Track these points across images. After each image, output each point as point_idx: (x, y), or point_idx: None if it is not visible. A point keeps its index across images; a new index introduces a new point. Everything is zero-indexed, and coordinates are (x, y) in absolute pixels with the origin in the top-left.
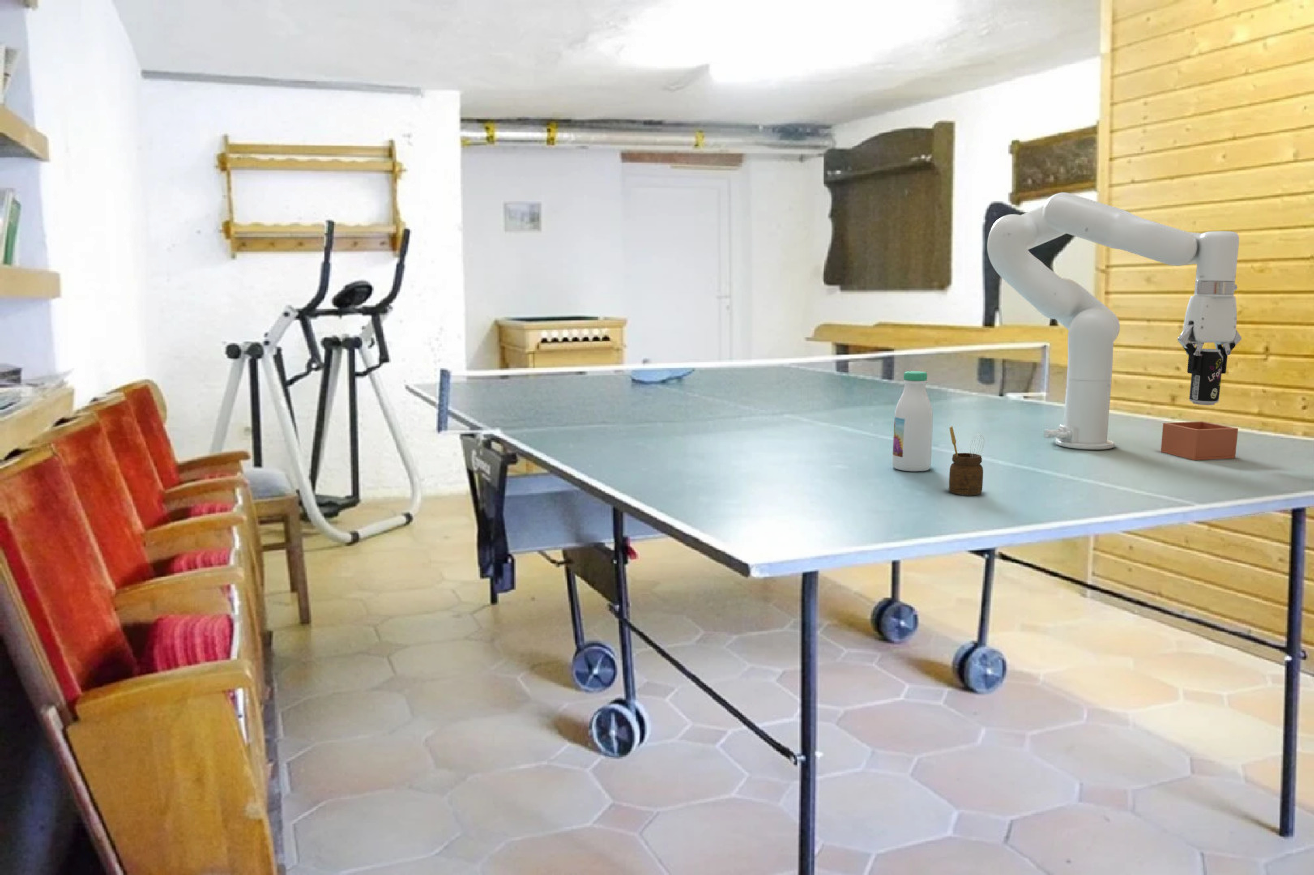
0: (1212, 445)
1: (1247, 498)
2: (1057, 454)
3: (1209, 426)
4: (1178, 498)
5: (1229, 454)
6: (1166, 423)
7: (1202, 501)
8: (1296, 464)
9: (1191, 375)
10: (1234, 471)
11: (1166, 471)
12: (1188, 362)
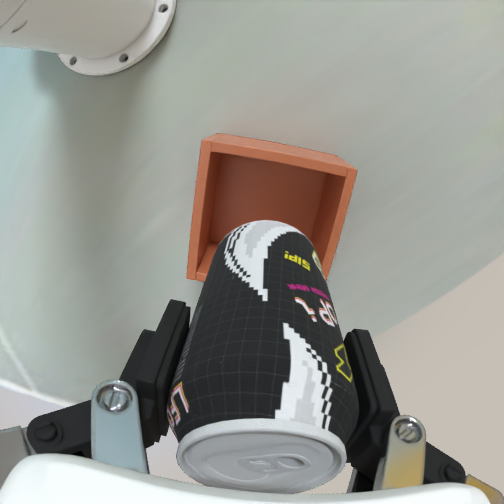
0: None
1: None
2: (8, 102)
3: (335, 205)
4: (28, 374)
5: None
6: (200, 154)
7: (43, 389)
8: None
9: (216, 286)
10: None
11: (78, 292)
12: (131, 356)
